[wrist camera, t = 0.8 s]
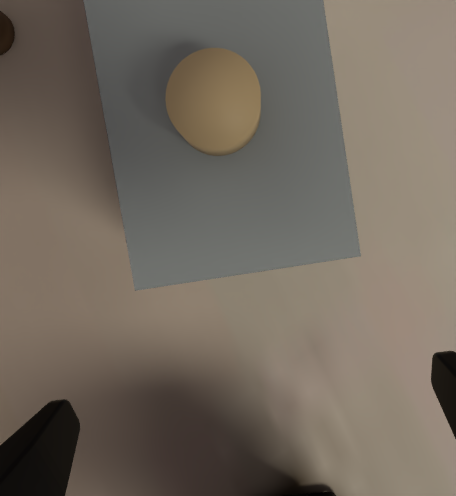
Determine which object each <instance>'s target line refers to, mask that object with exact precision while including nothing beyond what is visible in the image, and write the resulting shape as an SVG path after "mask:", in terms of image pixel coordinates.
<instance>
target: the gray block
mask: <svg viewBox="0 0 456 496" xmlns="http://www.w3.org/2000/svg"><path fill="white" fill-rule="evenodd" d="M84 6H85V12H86V17H87V23H88V29H89V34H90V40H91V45H92V51H93V57H94V62H95V68H96V74H97V79H98V85H99V90H100V96H101V102H102V107H103V113H104V119H105V124H106V130H107V135H108V141H109V147H110V152H111V158H112V164H113V169H114V175H115V180H116V186H117V192H118V197H119V203H120V209H121V214H122V220H123V225H124V231H125V237H126V242H127V248H128V254H129V259H130V265H131V270H132V276H133V282H134V287H135V291H136V290H142V289H149V288H155V287H162V286H168V285H175V284H182V283H188V282H195V281H201V280H208V279H214V278H221V277H227V276H234V275H240V274H247V273H254V272H260V271H267V270H273V269H280V268H286V267H293V266H299V265H306V264H312V263H319V262H326V261H332V260H339V259H345V258H352V257H358V256H361V253H360V247H359V240H358V233H357V226H356V220H355V213H354V206H353V199H352V193H351V186H350V179H349V172H348V165H347V159H346V152H345V145H344V138H343V132H342V125H341V118H340V111H339V104H338V98H337V91H336V84H335V77H334V71H333V64H332V57H331V50H330V43H329V37H328V30H327V23H326V16H325V10H324V3H323V0H84Z"/></svg>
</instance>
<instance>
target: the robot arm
mask: <svg viewBox="0 0 456 496" xmlns="http://www.w3.org/2000/svg"><path fill="white" fill-rule="evenodd" d="M431 383H432V386H433V389H434V392H435V394H436V396H437V398H438V401H439V403H440V405H441V407H442V409H443V412H444V414H445V416H446V418H447V421H448V423H449V425H450V427H451V430H452V432H453V434H454V436H455V439H456V352H454V351H445V352H437V353H435V354H434V355H433V358H432V372H431ZM79 431H80V423H79V419H78V417H77V416H76V414H75V412H74V410H73V408H72V406H71V404H70V402H69V401H68V400H65V399H63V400H55V401H51V402H49V403H48V404H47V405H45V406H44V407H43V408H42V409H41V410H40V411H39V412H38V413H36V414H35V415H34V416H33V417H32V418H31V419H30V420H29V421H27V422H26V423H25V424H24V425H23V426H22V427H21V428H20V429H18V430H17V431H16V432H15V433H14V434H13V435H12V436H11V437H9V438H8V439H7V440H6V441H5V442H4V443H3V444H2V445H0V496H65V492H66V489H67V485H68V480H69V476H70V471H71V467H72V462H73V458H74V454H75V449H76V445H77V440H78V436H79ZM286 496H336V495H335V494H334V493H332V492H321V493H310V494H297V495H286Z"/></svg>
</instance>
